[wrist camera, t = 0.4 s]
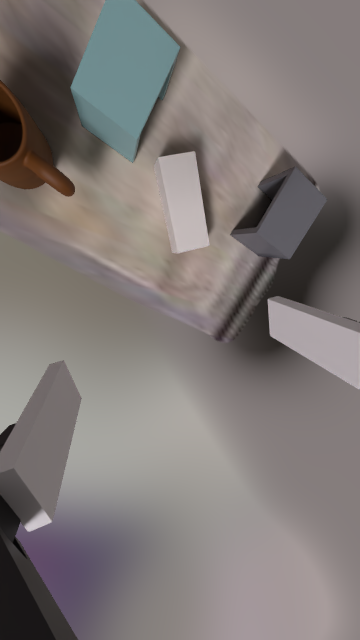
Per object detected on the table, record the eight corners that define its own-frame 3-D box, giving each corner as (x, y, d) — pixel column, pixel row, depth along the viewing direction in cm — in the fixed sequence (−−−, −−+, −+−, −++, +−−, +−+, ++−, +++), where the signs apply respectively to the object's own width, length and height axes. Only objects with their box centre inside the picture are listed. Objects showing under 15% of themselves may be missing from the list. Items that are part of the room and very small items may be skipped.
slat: (153, 167, 32) (158, 157, 28) (186, 161, 33) (194, 150, 29) (171, 252, 36) (178, 253, 33) (200, 245, 37) (209, 245, 34)
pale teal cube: (82, 125, 28) (70, 87, 21) (115, 47, 27) (114, -22, 20) (132, 163, 31) (137, 139, 24) (165, 93, 29) (180, 47, 22)
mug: (97, 179, 31) (89, 154, 22) (68, 226, 31) (49, 220, 23) (3, 101, 26) (-54, 30, 17) (-29, 159, 27) (-98, 119, 18)
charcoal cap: (230, 234, 38) (256, 233, 31) (260, 181, 36) (295, 166, 29) (259, 256, 40) (289, 259, 33) (288, 207, 39) (327, 199, 32)
